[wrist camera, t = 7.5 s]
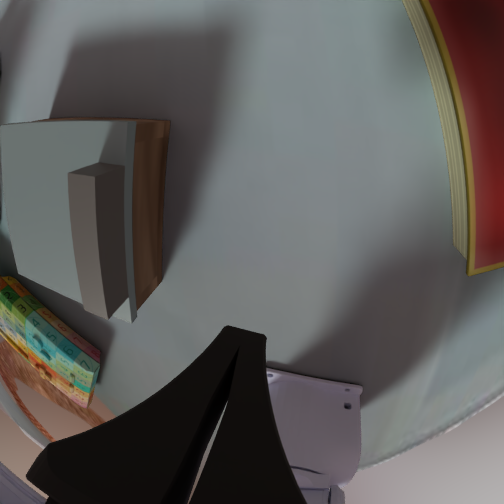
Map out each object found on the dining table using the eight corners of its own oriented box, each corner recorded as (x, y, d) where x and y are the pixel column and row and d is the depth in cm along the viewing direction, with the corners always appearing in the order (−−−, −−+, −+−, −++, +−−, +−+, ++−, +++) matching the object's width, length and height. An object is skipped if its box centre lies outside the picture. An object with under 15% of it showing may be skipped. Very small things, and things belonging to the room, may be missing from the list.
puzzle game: (83, 413, 30) (-15, 324, 29) (99, 389, 34) (4, 308, 33) (89, 378, 25) (-26, 269, 23) (111, 350, 29) (-1, 252, 27)
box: (170, 120, 17) (136, 124, 13) (161, 281, 22) (137, 310, 19) (48, 118, 18) (12, 125, 15) (55, 246, 24) (27, 266, 20)
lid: (136, 121, 13) (96, 126, 10) (137, 316, 19) (113, 346, 16) (8, 123, 14) (-25, 132, 11) (24, 269, 20) (0, 287, 17)
